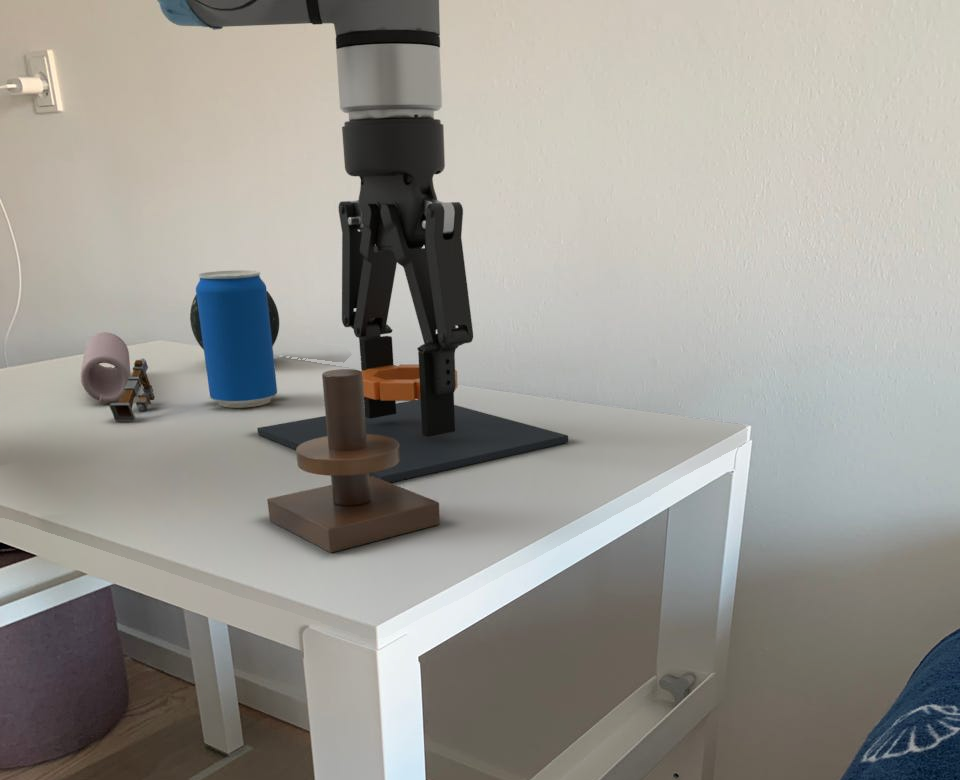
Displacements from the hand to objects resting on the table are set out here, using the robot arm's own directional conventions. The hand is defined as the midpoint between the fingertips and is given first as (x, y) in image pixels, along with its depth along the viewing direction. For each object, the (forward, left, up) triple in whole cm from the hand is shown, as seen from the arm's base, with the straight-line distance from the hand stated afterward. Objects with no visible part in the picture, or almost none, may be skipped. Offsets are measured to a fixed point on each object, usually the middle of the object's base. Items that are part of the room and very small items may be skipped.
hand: (408, 423), depth 84 cm
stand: (+16, -15, -1) cm, 22 cm away
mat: (0, 0, -1) cm, 1 cm away
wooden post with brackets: (-26, -14, -1) cm, 29 cm away
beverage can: (-23, -4, -1) cm, 23 cm away
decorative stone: (-43, +5, -1) cm, 43 cm away
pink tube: (-40, -12, -1) cm, 42 cm away
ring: (0, 0, +3) cm, 3 cm away
